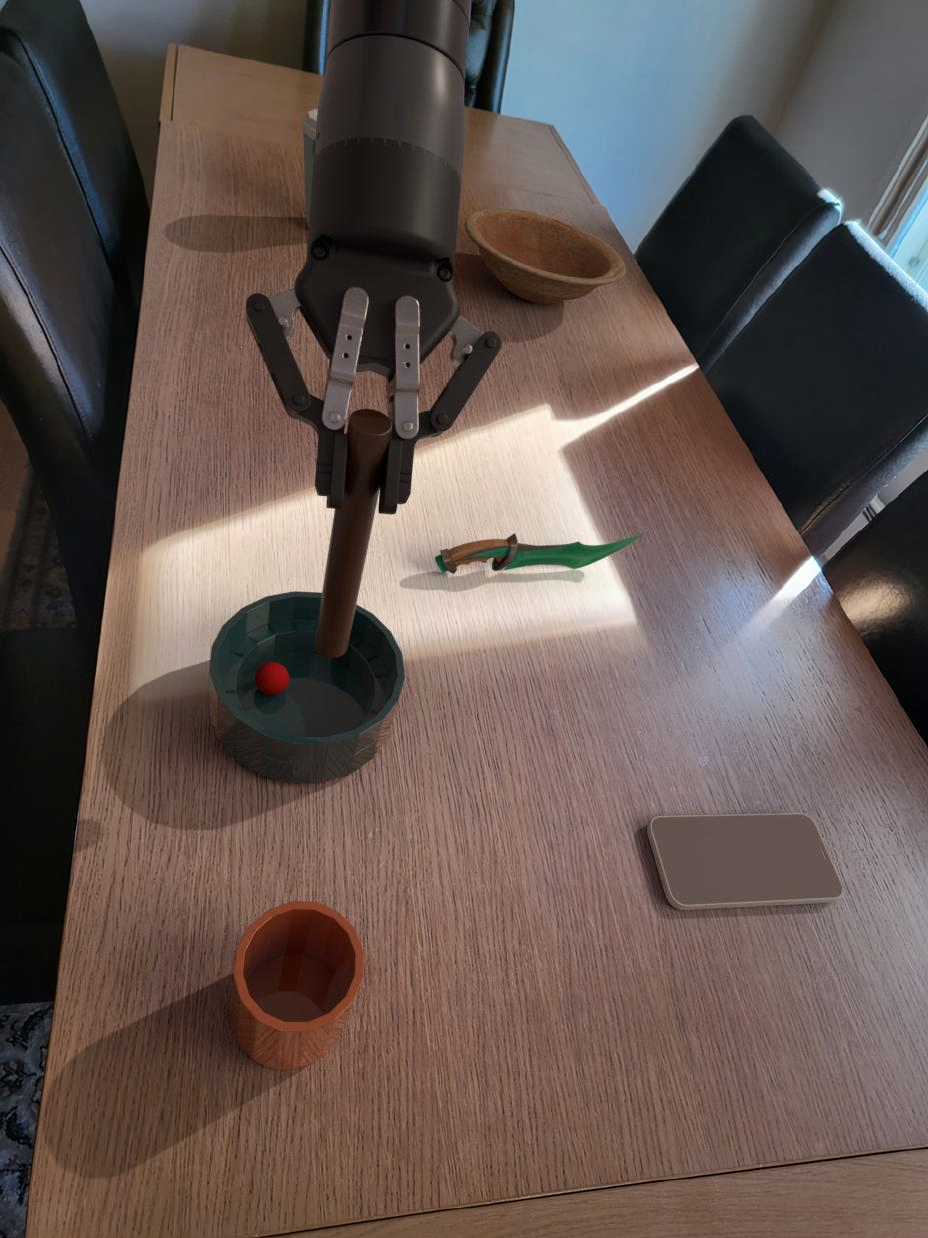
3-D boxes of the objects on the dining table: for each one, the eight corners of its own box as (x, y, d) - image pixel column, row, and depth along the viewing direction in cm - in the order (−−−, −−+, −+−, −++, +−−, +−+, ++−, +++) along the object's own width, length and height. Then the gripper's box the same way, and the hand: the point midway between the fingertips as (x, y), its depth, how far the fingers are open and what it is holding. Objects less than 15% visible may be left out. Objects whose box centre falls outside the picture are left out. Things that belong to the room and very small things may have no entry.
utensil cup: (250, 1091, 48) (256, 1055, 42) (217, 975, 52) (218, 926, 46) (362, 1040, 51) (382, 1000, 45) (324, 934, 55) (337, 884, 49)
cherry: (246, 692, 65) (253, 673, 63) (260, 669, 66) (268, 650, 65) (275, 707, 65) (284, 688, 63) (289, 684, 67) (298, 665, 65)
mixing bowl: (240, 811, 59) (242, 767, 55) (189, 659, 66) (188, 610, 62) (419, 757, 65) (434, 714, 61) (354, 624, 73) (363, 577, 68)
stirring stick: (320, 661, 54) (358, 436, 41) (309, 636, 55) (342, 409, 42) (352, 654, 55) (399, 432, 41) (340, 629, 56) (382, 406, 43)
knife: (434, 581, 78) (445, 543, 75) (429, 567, 80) (440, 529, 76) (630, 573, 86) (649, 538, 82) (623, 560, 87) (642, 526, 83)
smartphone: (646, 815, 65) (810, 812, 69) (642, 821, 66) (805, 817, 70) (674, 907, 61) (848, 898, 64) (669, 912, 61) (842, 903, 65)
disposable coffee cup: (283, 209, 121) (291, 96, 111) (353, 212, 126) (366, 103, 115) (306, 245, 116) (316, 130, 105) (377, 247, 120) (394, 136, 110)
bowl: (637, 312, 126) (658, 261, 120) (541, 350, 112) (559, 295, 106) (524, 239, 134) (538, 188, 128) (420, 266, 120) (431, 211, 114)
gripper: (246, 101, 37) (219, 491, 38) (540, 164, 40) (508, 521, 41) (249, 175, 44) (226, 501, 45) (498, 224, 48) (471, 526, 49)
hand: (361, 509), depth 43 cm, fingers closed on stirring stick, 2 cm apart
